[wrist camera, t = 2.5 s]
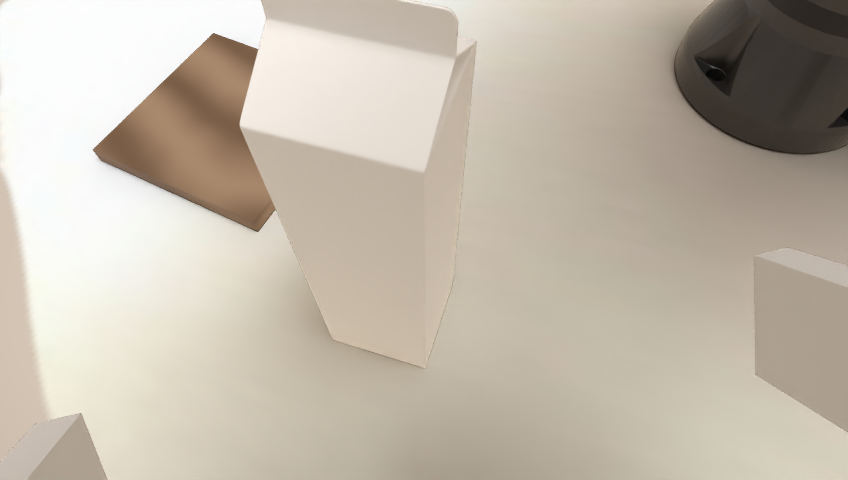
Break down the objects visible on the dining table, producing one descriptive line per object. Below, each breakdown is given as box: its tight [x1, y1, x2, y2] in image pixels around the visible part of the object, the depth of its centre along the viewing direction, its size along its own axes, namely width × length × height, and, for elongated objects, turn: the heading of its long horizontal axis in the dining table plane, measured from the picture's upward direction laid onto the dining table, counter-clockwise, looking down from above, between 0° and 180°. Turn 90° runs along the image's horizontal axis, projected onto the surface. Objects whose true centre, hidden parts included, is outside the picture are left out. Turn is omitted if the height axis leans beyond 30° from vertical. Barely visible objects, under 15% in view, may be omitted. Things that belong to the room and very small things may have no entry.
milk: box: [240, 0, 477, 368], centre depth 24 cm, size 6×6×22 cm
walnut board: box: [93, 33, 275, 232], centre depth 41 cm, size 14×14×1 cm
